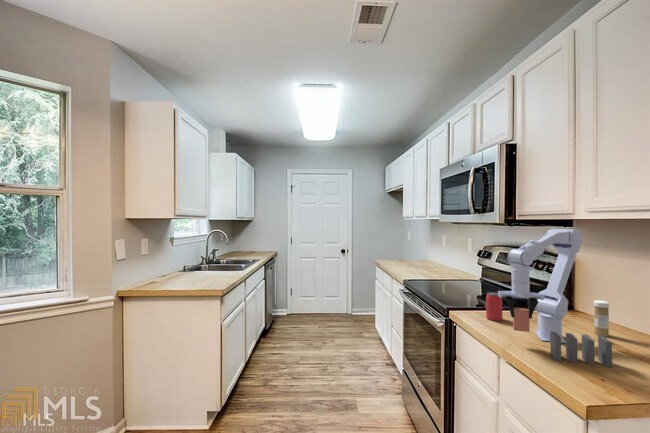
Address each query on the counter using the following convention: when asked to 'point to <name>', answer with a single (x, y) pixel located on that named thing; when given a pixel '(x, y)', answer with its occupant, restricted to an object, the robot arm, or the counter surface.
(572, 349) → the domino
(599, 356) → the domino
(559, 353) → the domino
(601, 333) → the sprinkles bottle
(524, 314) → the red domino
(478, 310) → the counter surface
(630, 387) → the counter surface
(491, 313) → the beer can
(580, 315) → the counter surface
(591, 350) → the domino
